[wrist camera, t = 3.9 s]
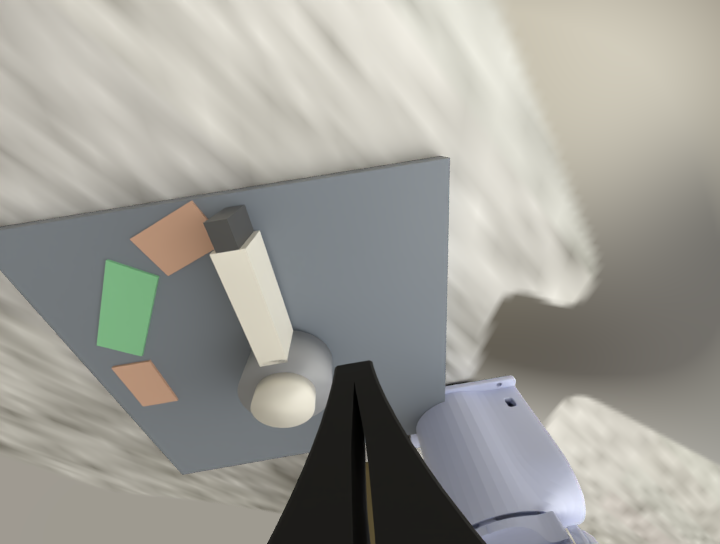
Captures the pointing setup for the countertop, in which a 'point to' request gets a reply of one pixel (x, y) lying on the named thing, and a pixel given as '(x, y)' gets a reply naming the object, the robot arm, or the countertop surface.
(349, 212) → the board
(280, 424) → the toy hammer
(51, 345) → the countertop surface
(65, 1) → the countertop surface
